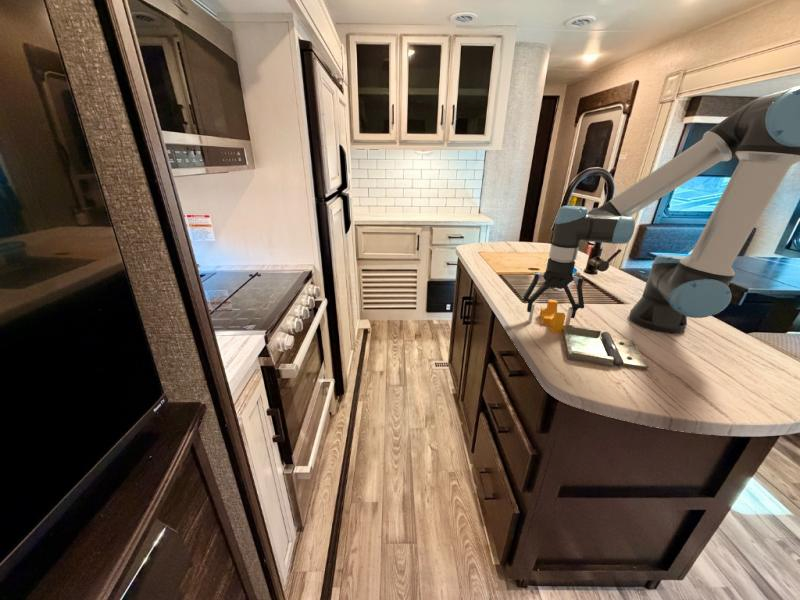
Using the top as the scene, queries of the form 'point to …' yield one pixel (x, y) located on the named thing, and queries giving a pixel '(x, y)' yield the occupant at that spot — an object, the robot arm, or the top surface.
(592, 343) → the hinge base
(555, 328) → the orange stepped block
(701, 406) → the top surface
